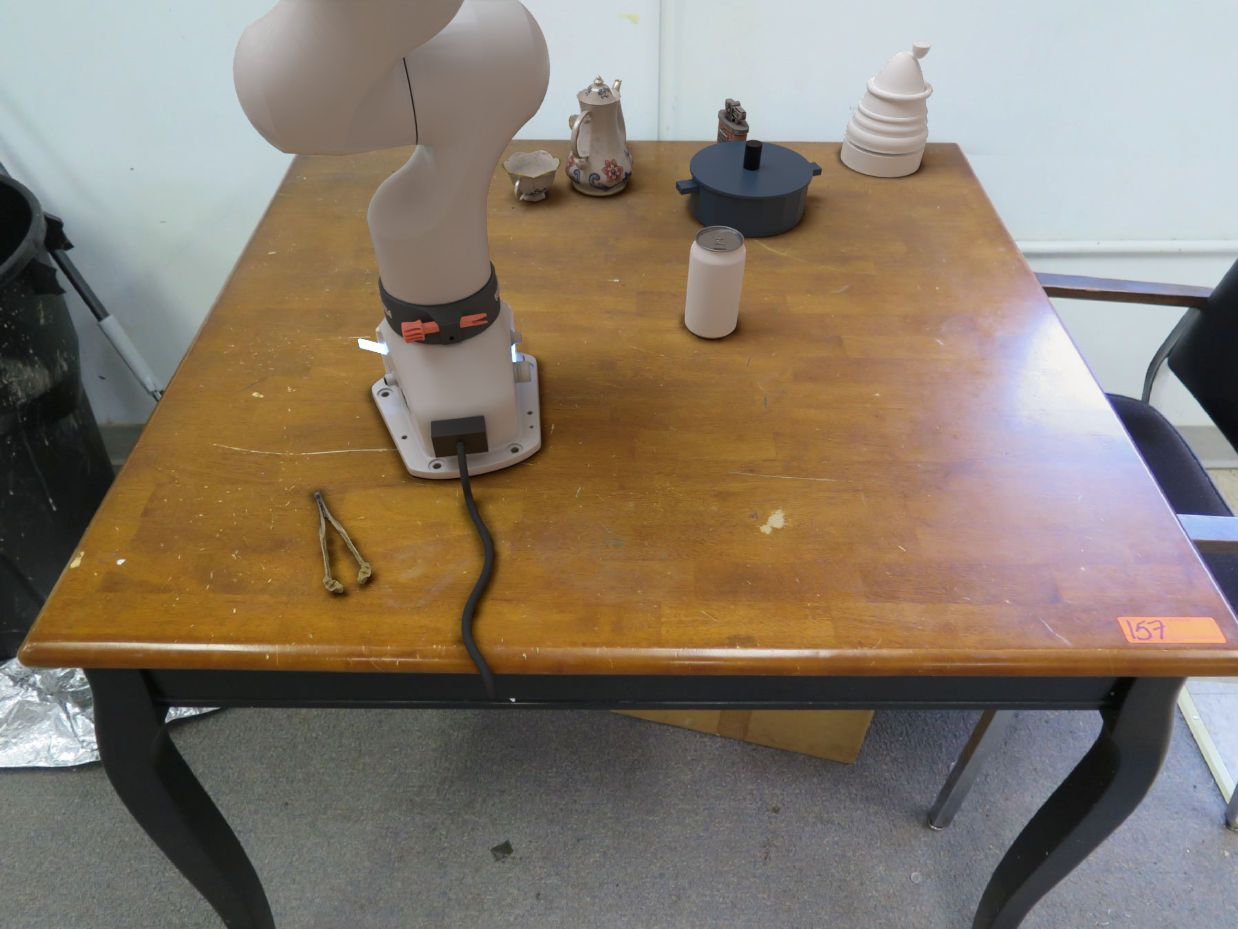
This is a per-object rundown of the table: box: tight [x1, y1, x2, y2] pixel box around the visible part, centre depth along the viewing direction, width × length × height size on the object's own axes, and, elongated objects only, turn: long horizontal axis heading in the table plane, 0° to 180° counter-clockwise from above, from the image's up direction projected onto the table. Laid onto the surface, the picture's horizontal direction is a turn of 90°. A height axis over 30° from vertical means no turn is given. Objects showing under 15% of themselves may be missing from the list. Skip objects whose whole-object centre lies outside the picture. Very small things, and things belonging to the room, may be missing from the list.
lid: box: [689, 139, 814, 200], centre depth 113 cm, size 18×18×5 cm
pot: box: [675, 161, 823, 238], centre depth 116 cm, size 17×22×6 cm
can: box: [684, 226, 747, 340], centre depth 94 cm, size 6×6×12 cm
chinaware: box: [501, 74, 634, 202], centre depth 119 cm, size 28×17×17 cm, turn 154°
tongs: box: [313, 490, 372, 594], centre depth 73 cm, size 4×13×2 cm, turn 33°
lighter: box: [716, 97, 750, 144], centre depth 125 cm, size 8×3×10 cm, turn 17°
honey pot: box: [840, 41, 934, 178], centre depth 124 cm, size 13×13×18 cm
